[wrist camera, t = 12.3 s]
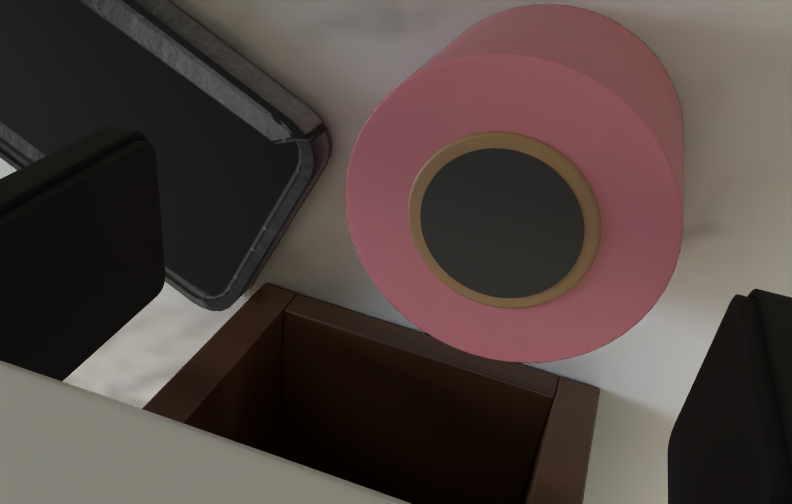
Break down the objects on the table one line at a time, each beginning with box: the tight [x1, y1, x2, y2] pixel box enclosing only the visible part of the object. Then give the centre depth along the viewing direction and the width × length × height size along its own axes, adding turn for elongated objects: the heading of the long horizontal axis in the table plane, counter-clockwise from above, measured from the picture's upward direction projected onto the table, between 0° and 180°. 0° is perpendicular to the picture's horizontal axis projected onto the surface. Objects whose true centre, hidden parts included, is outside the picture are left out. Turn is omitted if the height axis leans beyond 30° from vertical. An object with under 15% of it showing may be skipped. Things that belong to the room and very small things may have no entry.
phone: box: [0, 0, 330, 311], centre depth 21 cm, size 8×1×15 cm
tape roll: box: [345, 5, 684, 363], centre depth 16 cm, size 7×7×5 cm
